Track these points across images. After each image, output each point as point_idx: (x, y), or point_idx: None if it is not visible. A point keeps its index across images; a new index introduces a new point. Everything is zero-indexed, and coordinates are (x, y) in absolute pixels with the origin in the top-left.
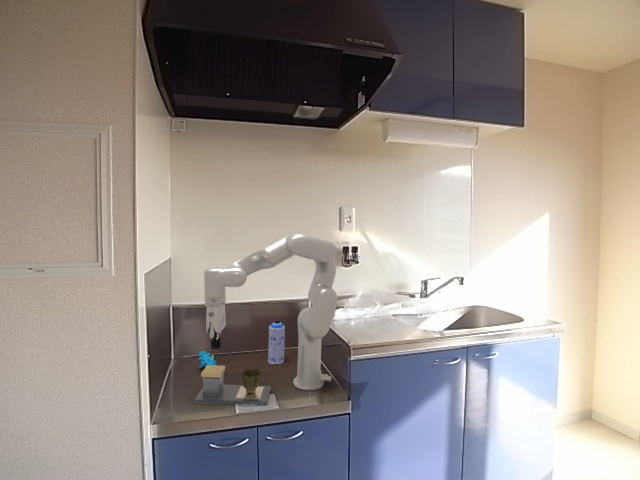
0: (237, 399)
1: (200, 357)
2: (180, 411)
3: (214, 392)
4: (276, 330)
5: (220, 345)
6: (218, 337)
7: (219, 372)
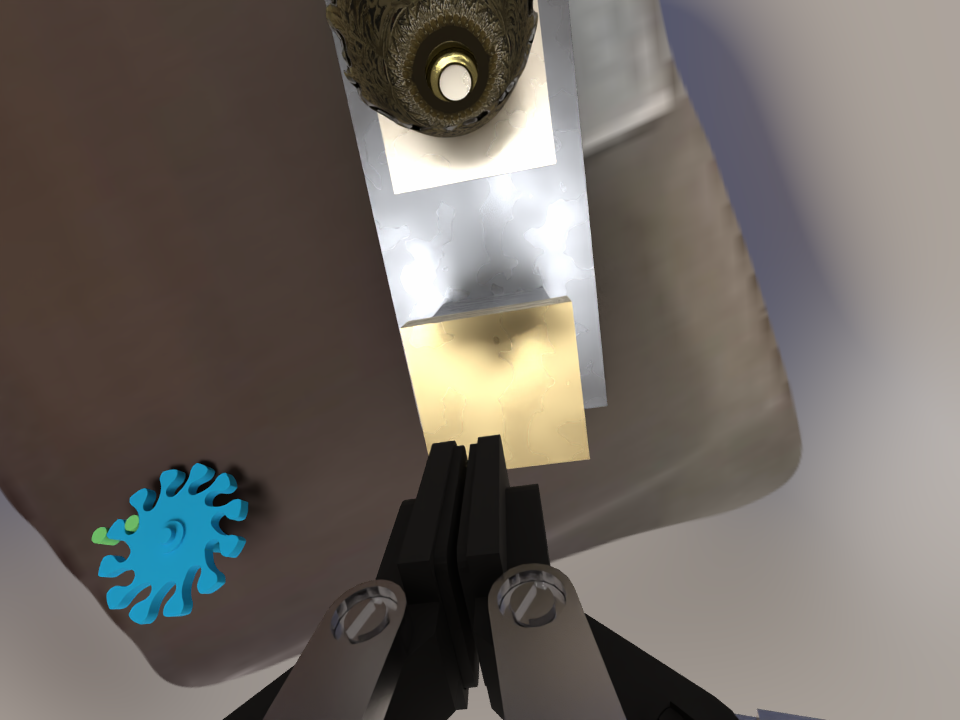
0: (566, 144)
1: (207, 588)
2: (688, 426)
3: None
4: None
5: (445, 455)
6: (517, 598)
7: (550, 318)
